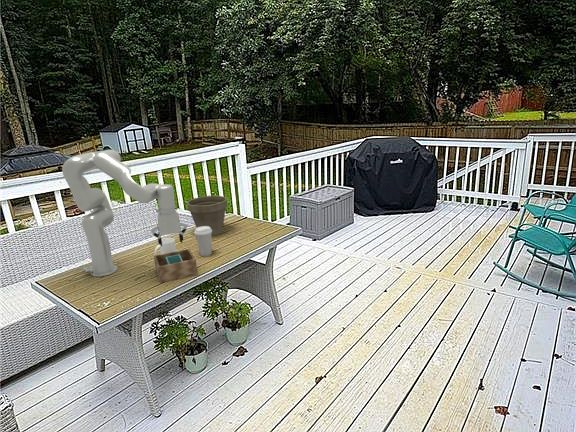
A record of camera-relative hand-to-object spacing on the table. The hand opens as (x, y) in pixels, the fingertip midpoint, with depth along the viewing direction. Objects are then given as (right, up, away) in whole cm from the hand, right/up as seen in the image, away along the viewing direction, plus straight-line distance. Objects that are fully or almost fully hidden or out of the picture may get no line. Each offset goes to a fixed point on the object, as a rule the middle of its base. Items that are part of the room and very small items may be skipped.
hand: (171, 243), depth 194 cm
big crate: (+1, -15, +5) cm, 16 cm away
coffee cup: (+12, -8, +26) cm, 30 cm away
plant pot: (+8, +3, +59) cm, 60 cm away
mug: (-9, -10, +21) cm, 25 cm away
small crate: (+1, -14, +4) cm, 15 cm away
